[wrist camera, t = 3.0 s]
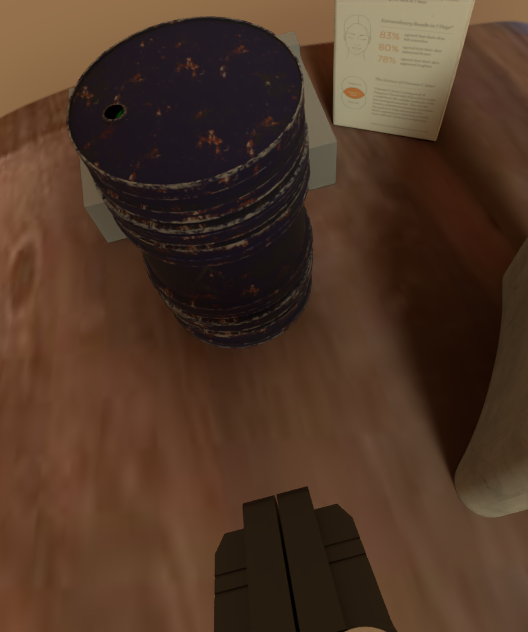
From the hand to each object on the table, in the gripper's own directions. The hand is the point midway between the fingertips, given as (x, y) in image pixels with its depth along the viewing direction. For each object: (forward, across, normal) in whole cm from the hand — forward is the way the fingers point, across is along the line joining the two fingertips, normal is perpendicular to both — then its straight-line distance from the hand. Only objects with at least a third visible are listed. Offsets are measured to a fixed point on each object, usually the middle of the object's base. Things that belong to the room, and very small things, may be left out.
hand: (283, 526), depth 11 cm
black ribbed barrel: (+23, 0, 0) cm, 23 cm away
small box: (+32, -15, -9) cm, 36 cm away
